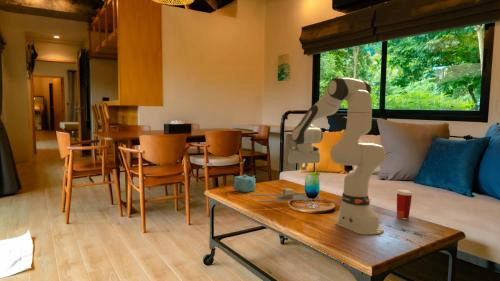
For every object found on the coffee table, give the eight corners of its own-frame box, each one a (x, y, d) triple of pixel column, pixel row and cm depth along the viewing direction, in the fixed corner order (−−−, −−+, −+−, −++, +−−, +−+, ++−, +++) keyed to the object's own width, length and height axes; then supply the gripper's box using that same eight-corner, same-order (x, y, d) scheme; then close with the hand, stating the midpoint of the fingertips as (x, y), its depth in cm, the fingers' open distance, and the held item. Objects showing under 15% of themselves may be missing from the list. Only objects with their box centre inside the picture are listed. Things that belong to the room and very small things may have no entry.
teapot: (226, 191, 217) (227, 174, 216) (247, 188, 229) (248, 171, 228) (242, 196, 205) (243, 178, 204) (263, 192, 217) (264, 175, 216)
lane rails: (320, 200, 202) (320, 198, 201) (257, 203, 190) (257, 201, 190) (309, 194, 215) (309, 193, 215) (250, 197, 203) (250, 195, 203)
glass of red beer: (409, 216, 175) (411, 190, 174) (412, 220, 168) (414, 193, 167) (393, 214, 177) (395, 188, 176) (395, 218, 170) (397, 191, 169)
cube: (293, 198, 201) (293, 190, 201) (285, 198, 200) (286, 190, 199) (289, 196, 206) (290, 188, 206) (282, 196, 205) (282, 188, 204)
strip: (320, 199, 203) (320, 190, 203) (280, 201, 196) (281, 191, 195) (311, 195, 214) (312, 186, 213) (273, 196, 206) (274, 187, 206)
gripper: (290, 148, 197) (289, 171, 198) (321, 148, 203) (320, 170, 204) (286, 147, 203) (285, 169, 204) (316, 147, 209) (315, 169, 210)
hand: (303, 170), depth 204 cm, fingers closed
